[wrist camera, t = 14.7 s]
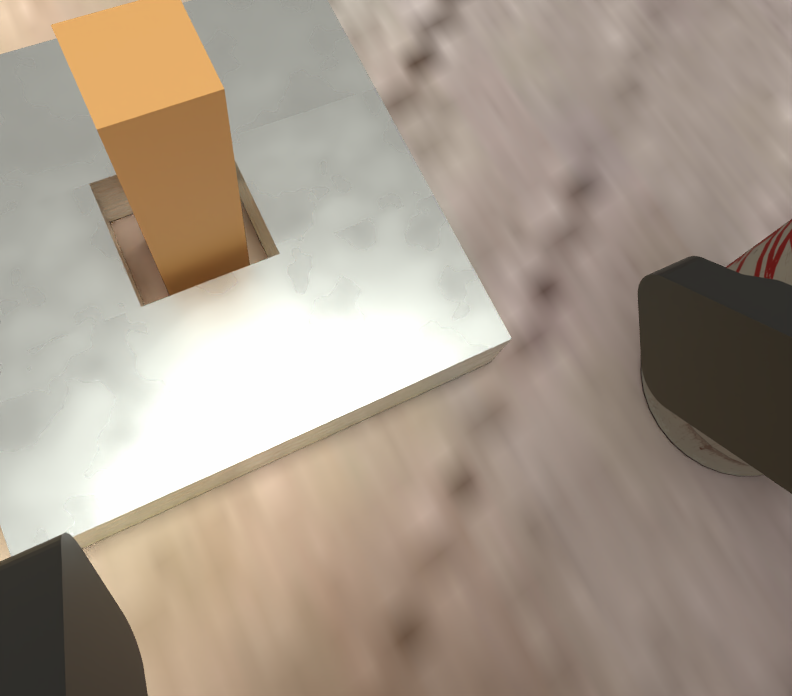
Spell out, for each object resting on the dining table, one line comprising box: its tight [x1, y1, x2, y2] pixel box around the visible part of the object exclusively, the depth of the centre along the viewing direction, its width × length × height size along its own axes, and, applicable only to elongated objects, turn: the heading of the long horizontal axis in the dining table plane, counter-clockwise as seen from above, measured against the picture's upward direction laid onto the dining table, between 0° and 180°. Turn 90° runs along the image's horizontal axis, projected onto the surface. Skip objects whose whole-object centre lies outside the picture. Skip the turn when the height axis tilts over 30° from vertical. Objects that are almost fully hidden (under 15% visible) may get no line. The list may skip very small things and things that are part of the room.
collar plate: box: [0, 0, 512, 557], centre depth 28 cm, size 18×18×3 cm
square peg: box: [51, 0, 250, 296], centre depth 24 cm, size 3×3×12 cm
